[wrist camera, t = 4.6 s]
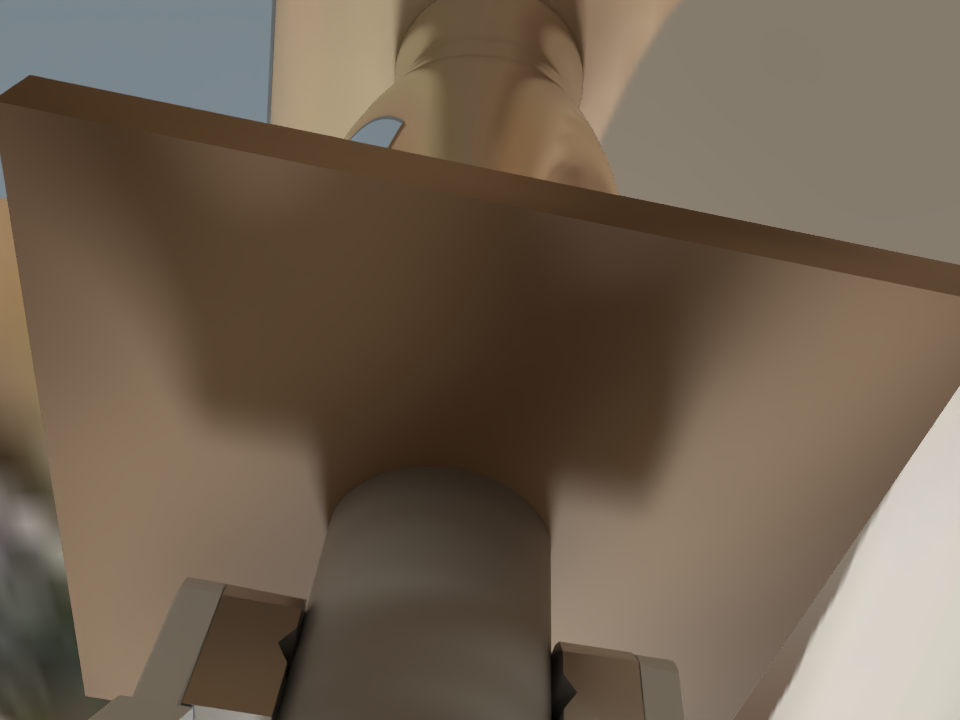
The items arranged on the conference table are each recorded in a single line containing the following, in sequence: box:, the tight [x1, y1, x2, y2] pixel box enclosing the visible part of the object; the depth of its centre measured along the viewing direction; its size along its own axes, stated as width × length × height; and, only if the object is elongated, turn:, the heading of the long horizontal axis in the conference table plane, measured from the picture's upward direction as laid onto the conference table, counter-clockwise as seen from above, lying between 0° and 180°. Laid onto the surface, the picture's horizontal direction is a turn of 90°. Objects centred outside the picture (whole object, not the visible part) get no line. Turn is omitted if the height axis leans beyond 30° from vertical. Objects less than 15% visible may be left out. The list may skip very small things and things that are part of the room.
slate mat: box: [0, 0, 276, 198], centre depth 27 cm, size 13×13×1 cm
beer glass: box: [344, 0, 619, 195], centre depth 22 cm, size 7×7×15 cm
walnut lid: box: [0, 75, 960, 720], centre depth 11 cm, size 11×11×5 cm
